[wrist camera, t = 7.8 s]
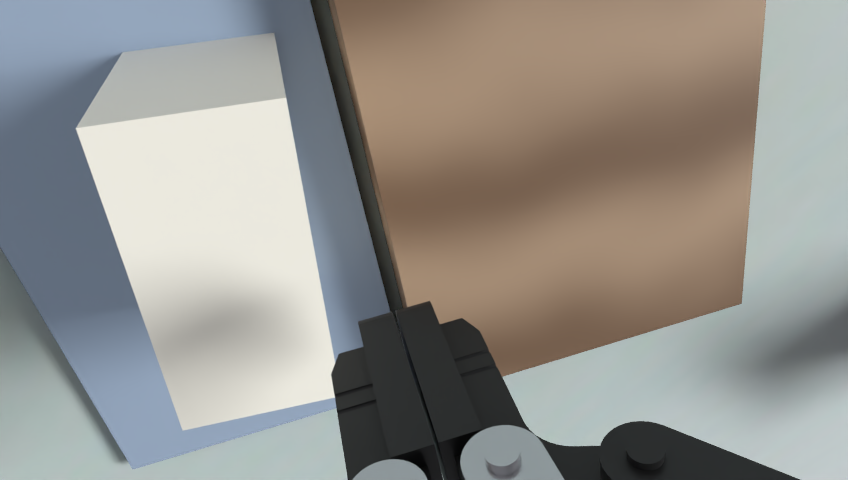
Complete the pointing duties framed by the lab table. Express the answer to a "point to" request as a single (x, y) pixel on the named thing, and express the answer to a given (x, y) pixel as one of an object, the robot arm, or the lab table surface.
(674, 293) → the riser
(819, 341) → the lab table surface
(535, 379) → the lab table surface
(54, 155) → the mat
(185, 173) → the block
